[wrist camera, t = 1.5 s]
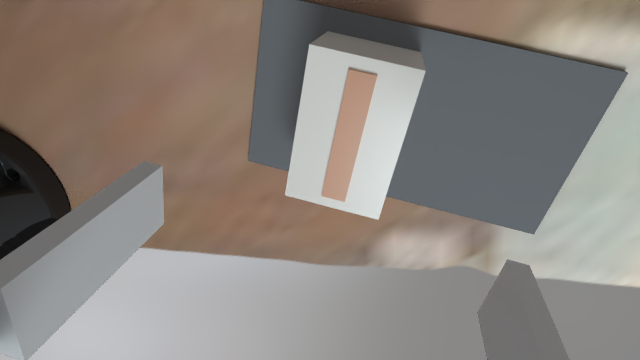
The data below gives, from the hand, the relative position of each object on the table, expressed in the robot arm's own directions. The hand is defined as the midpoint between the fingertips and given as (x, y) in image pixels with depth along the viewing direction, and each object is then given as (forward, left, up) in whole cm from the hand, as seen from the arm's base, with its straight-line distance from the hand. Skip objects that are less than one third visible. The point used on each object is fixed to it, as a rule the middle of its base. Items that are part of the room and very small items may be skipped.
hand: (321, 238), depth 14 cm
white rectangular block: (0, 0, -16) cm, 16 cm away
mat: (+4, 0, -16) cm, 17 cm away
